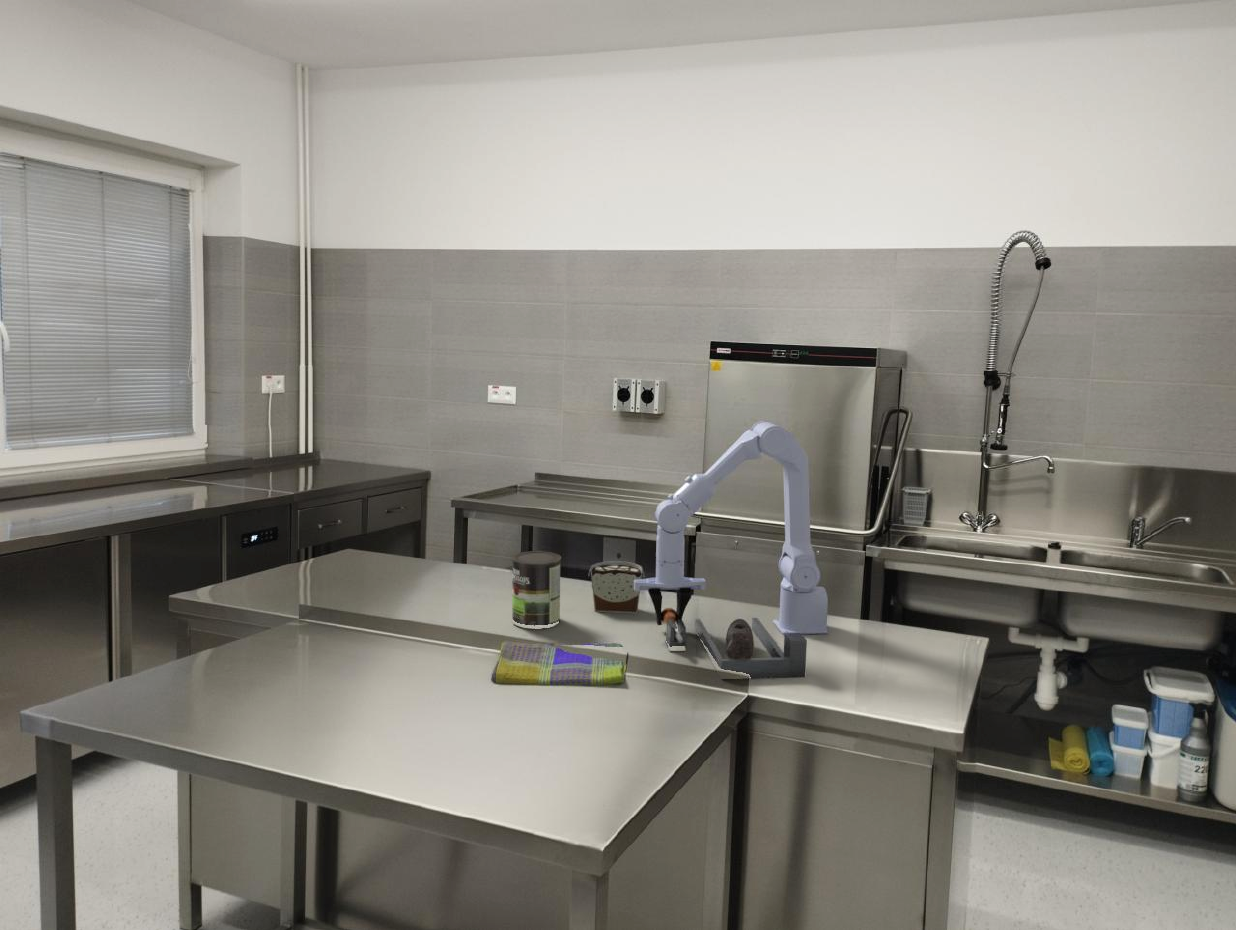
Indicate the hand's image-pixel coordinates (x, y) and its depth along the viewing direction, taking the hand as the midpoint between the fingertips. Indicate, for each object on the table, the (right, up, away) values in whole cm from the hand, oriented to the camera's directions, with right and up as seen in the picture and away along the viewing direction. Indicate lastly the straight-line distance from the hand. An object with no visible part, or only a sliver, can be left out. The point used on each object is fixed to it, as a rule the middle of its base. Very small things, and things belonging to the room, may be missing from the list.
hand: (668, 623), depth 195 cm
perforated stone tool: (+13, -4, -13) cm, 18 cm away
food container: (-11, +1, +15) cm, 18 cm away
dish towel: (-21, -6, -19) cm, 29 cm away
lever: (+1, -1, -6) cm, 6 cm away
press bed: (+11, -4, -12) cm, 16 cm away
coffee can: (-28, -1, +5) cm, 28 cm away
